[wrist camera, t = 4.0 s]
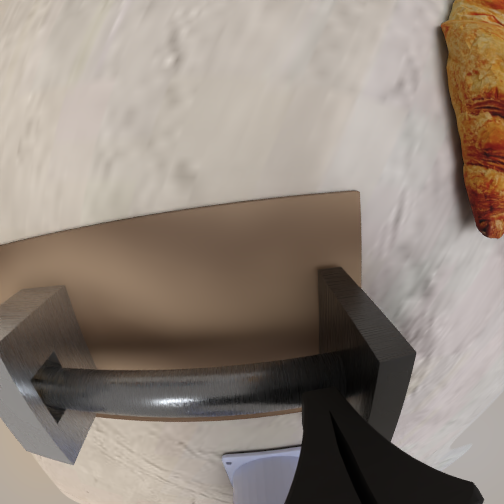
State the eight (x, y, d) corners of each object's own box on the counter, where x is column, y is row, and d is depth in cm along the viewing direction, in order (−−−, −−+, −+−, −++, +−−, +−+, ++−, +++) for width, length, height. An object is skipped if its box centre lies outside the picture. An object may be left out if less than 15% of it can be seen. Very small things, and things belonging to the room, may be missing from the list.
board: (349, 396, 18) (351, 401, 18) (31, 400, 18) (28, 404, 18) (355, 190, 14) (359, 191, 14) (-33, 253, 14) (-37, 256, 14)
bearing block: (107, 391, 17) (73, 465, 10) (64, 387, 17) (26, 450, 10) (65, 284, 15) (-5, 346, 8) (21, 289, 14) (-44, 340, 8)
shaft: (337, 374, 16) (378, 472, 9) (78, 389, 16) (36, 466, 9) (340, 266, 14) (416, 352, 7) (38, 298, 14) (-37, 365, 7)
